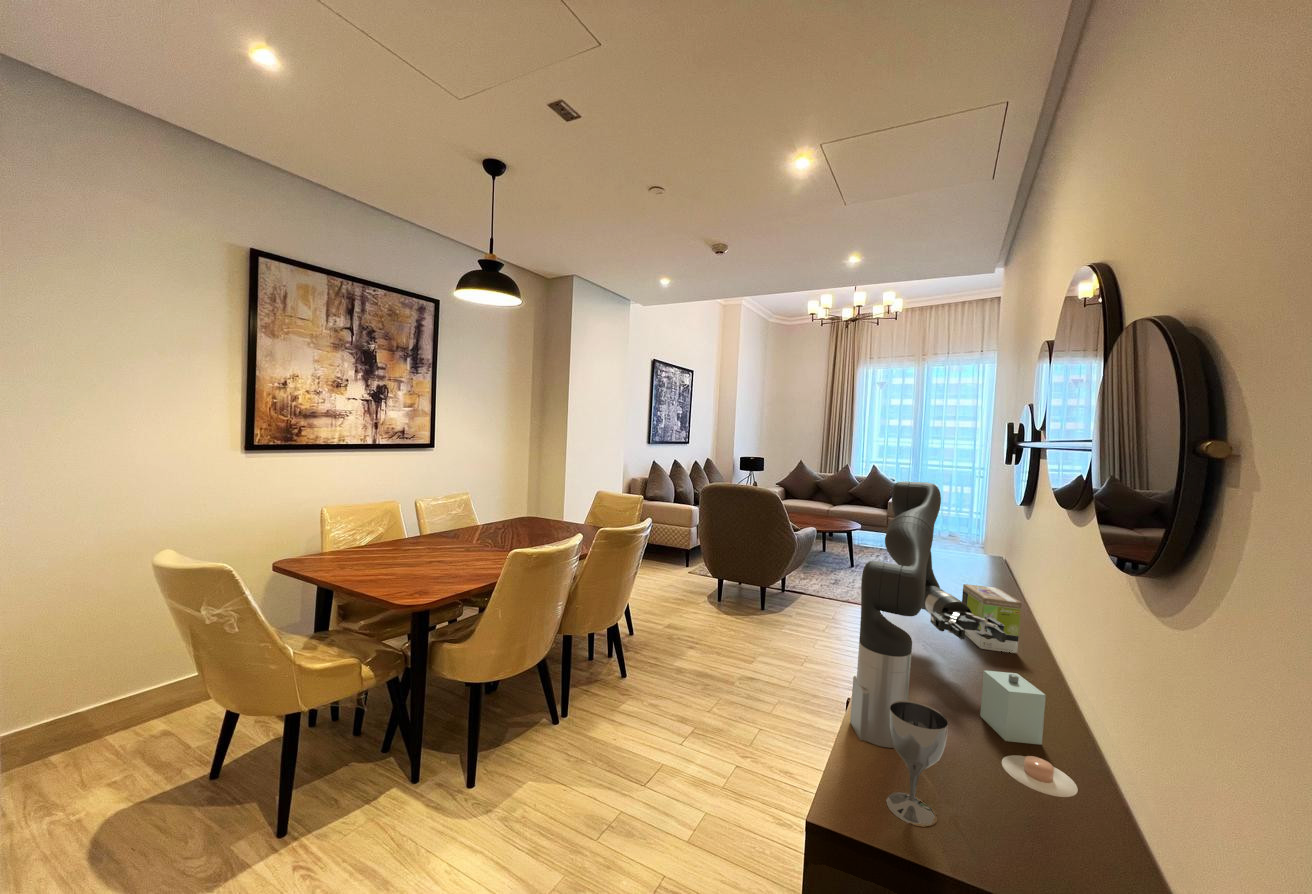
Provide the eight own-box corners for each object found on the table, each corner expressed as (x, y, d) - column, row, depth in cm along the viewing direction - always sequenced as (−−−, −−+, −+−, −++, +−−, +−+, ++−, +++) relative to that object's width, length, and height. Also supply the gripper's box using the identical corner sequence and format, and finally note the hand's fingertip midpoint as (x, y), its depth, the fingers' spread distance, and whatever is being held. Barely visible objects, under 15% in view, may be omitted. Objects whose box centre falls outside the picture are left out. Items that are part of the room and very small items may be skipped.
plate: (1025, 797, 82) (1026, 792, 82) (988, 756, 92) (989, 752, 92) (1093, 805, 81) (1094, 800, 81) (1049, 763, 91) (1049, 758, 91)
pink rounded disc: (1033, 781, 85) (1034, 769, 84) (1018, 765, 89) (1019, 754, 88) (1058, 784, 84) (1059, 772, 84) (1042, 768, 88) (1043, 757, 88)
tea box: (1019, 654, 140) (1023, 602, 139) (979, 649, 142) (983, 597, 141) (994, 633, 154) (997, 586, 154) (958, 629, 156) (961, 582, 156)
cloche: (1005, 742, 96) (1009, 685, 96) (980, 717, 105) (984, 664, 104) (1041, 746, 95) (1046, 688, 95) (1013, 720, 104) (1017, 667, 104)
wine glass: (922, 791, 82) (928, 701, 81) (952, 830, 74) (960, 730, 73) (874, 790, 81) (880, 699, 81) (899, 828, 73) (906, 728, 73)
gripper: (919, 593, 127) (951, 617, 111) (978, 597, 126) (1018, 622, 110) (917, 622, 128) (948, 650, 112) (975, 626, 127) (1016, 655, 110)
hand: (983, 636), depth 111 cm, fingers open, 8 cm apart
